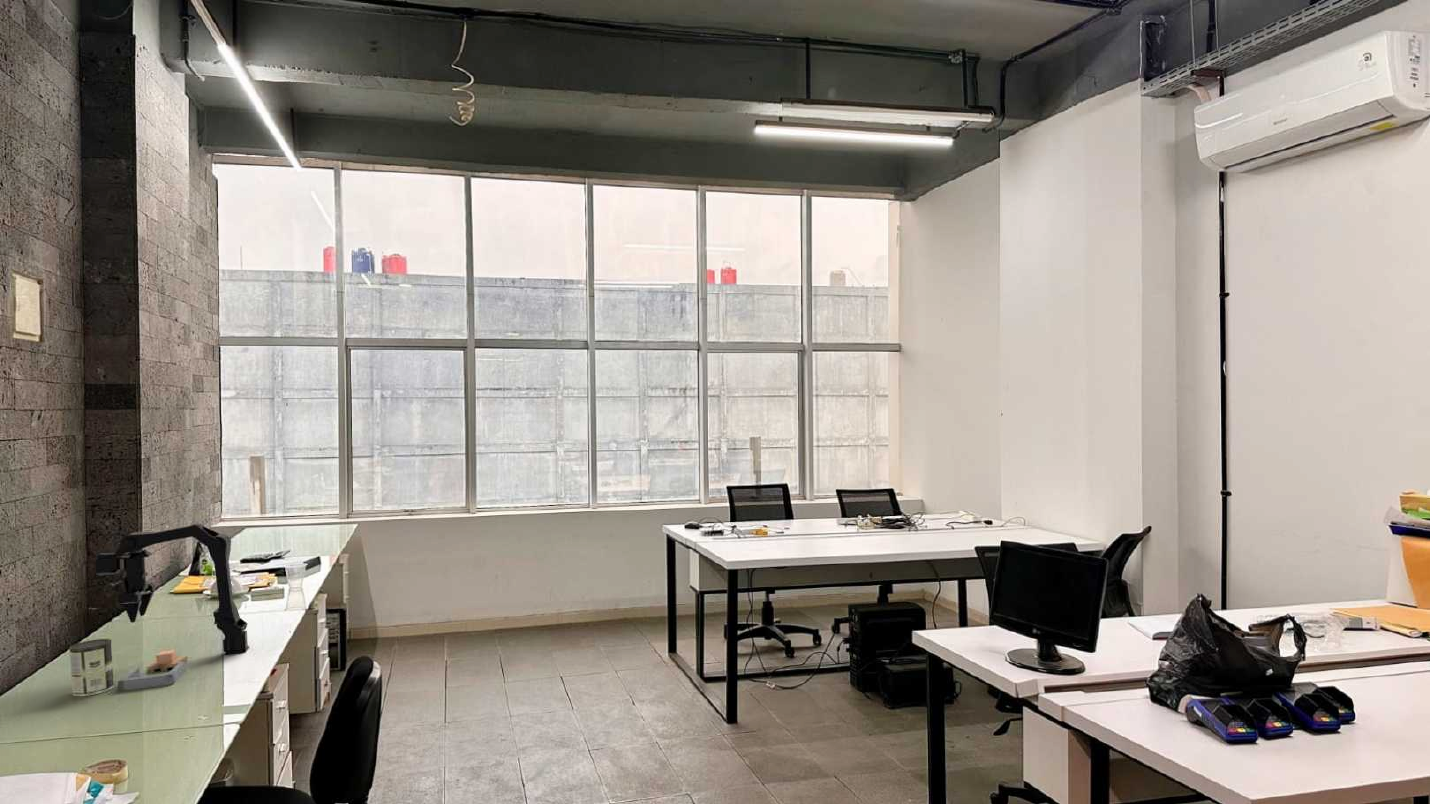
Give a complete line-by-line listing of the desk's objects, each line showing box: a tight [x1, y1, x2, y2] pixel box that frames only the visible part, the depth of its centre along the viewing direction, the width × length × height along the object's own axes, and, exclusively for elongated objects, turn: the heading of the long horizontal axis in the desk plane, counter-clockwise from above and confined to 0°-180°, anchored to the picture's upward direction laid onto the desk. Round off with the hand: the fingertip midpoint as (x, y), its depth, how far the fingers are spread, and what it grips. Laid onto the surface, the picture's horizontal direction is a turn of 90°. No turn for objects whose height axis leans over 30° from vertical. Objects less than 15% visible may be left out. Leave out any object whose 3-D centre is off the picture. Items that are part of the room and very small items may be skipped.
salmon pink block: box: [155, 649, 177, 665], centre depth 280 cm, size 4×4×3 cm
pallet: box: [146, 655, 189, 674], centre depth 281 cm, size 9×9×2 cm
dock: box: [117, 662, 187, 692], centre depth 266 cm, size 14×14×3 cm
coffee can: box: [68, 638, 115, 697], centre depth 260 cm, size 10×10×14 cm
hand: (137, 618), depth 286 cm, fingers open, 9 cm apart
